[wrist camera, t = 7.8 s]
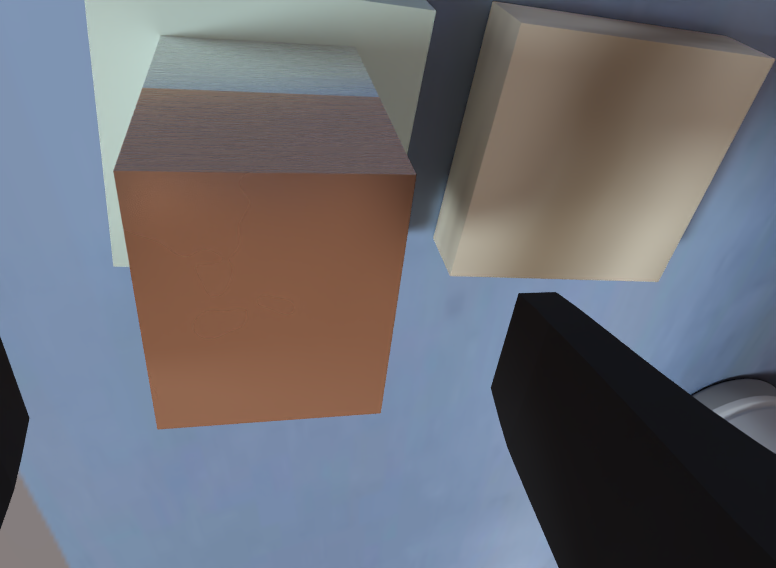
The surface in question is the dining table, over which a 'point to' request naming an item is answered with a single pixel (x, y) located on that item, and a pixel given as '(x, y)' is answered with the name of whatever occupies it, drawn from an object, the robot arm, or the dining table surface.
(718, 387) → the travel mug
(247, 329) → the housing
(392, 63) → the stand
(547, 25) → the stand
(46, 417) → the dining table surface
